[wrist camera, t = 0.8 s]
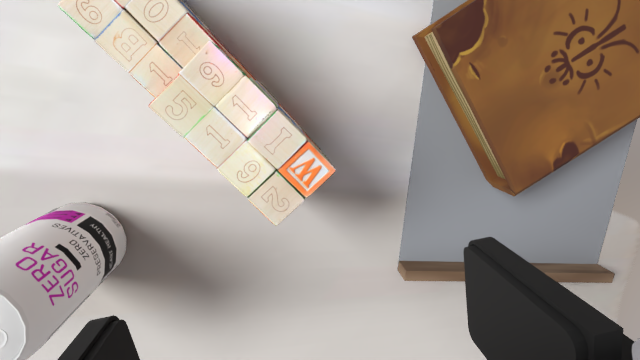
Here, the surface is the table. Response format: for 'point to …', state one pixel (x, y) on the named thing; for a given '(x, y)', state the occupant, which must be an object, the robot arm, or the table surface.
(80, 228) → the supplement can
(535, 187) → the display board
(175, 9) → the stack of blocks
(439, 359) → the table surface
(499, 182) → the diary
